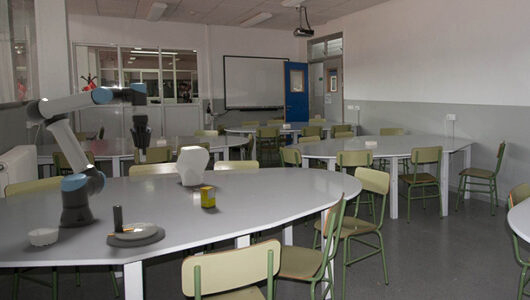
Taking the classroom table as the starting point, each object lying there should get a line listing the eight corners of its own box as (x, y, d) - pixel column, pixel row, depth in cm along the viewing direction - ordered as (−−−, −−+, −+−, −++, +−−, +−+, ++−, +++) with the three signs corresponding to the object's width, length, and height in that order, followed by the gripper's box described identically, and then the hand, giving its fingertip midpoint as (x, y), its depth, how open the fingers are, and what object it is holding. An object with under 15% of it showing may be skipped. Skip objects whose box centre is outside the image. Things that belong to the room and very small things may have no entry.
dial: (156, 225, 180) (155, 197, 179) (159, 237, 163) (157, 207, 162) (115, 229, 175) (113, 201, 173) (113, 243, 158) (111, 212, 156)
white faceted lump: (183, 187, 263) (181, 150, 259) (175, 180, 287) (173, 146, 284) (213, 184, 271) (211, 148, 268) (203, 177, 296) (201, 144, 292)
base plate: (96, 247, 158) (95, 242, 158) (122, 227, 182) (122, 223, 182) (153, 247, 156) (152, 243, 156) (172, 228, 180) (172, 224, 180)
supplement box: (208, 204, 219) (207, 185, 217) (216, 206, 215) (215, 187, 214) (200, 207, 214) (199, 187, 213) (207, 209, 210) (207, 189, 209)
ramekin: (23, 246, 162) (21, 233, 161) (46, 237, 172) (45, 225, 171) (42, 249, 158) (41, 236, 157) (65, 239, 168) (64, 227, 167)
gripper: (124, 114, 192) (127, 162, 195) (144, 114, 187) (147, 163, 190) (135, 114, 199) (138, 159, 202) (155, 114, 193) (158, 161, 196)
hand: (142, 161), depth 196 cm, fingers closed
